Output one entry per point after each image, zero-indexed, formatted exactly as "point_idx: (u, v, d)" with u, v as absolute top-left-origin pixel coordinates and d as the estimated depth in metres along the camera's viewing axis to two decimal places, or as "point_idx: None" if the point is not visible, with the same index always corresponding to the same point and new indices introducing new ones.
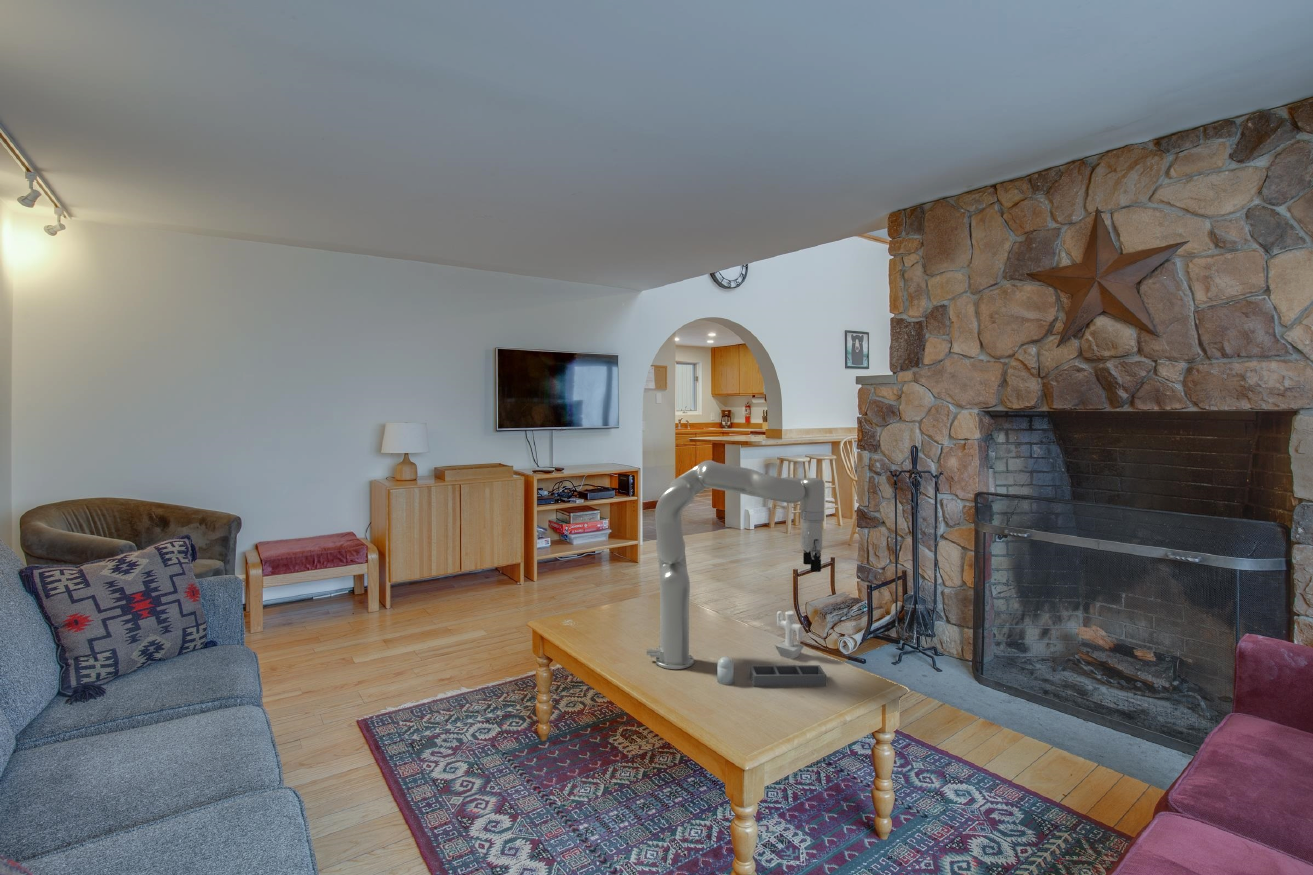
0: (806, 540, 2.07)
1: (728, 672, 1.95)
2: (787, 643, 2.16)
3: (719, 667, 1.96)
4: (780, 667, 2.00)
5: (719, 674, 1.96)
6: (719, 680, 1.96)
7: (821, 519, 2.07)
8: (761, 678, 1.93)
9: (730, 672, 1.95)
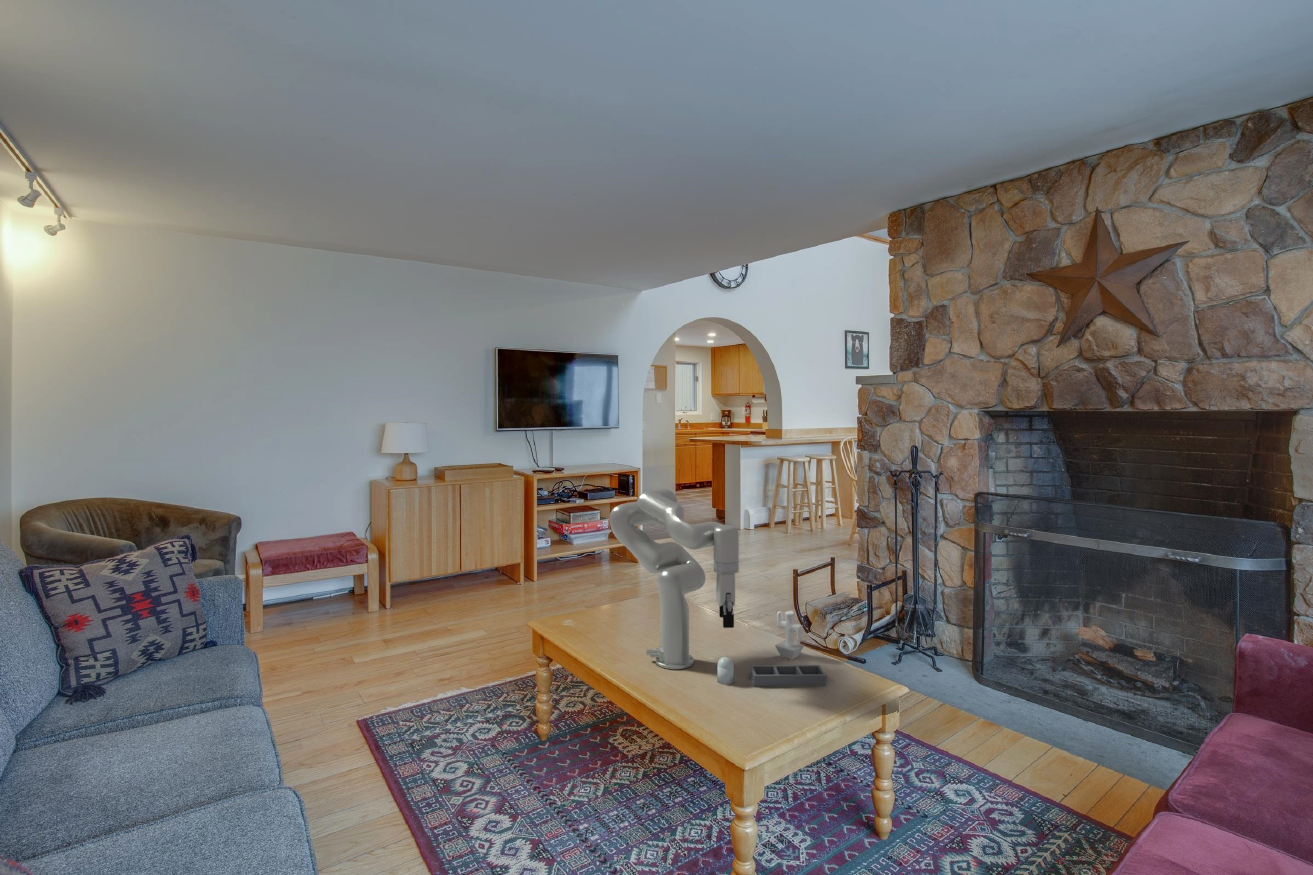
0: (718, 593, 1.92)
1: (728, 672, 1.95)
2: (787, 643, 2.16)
3: (719, 667, 1.96)
4: (780, 667, 2.00)
5: (719, 674, 1.96)
6: (719, 680, 1.96)
7: (734, 570, 1.93)
8: (761, 678, 1.93)
9: (730, 672, 1.95)
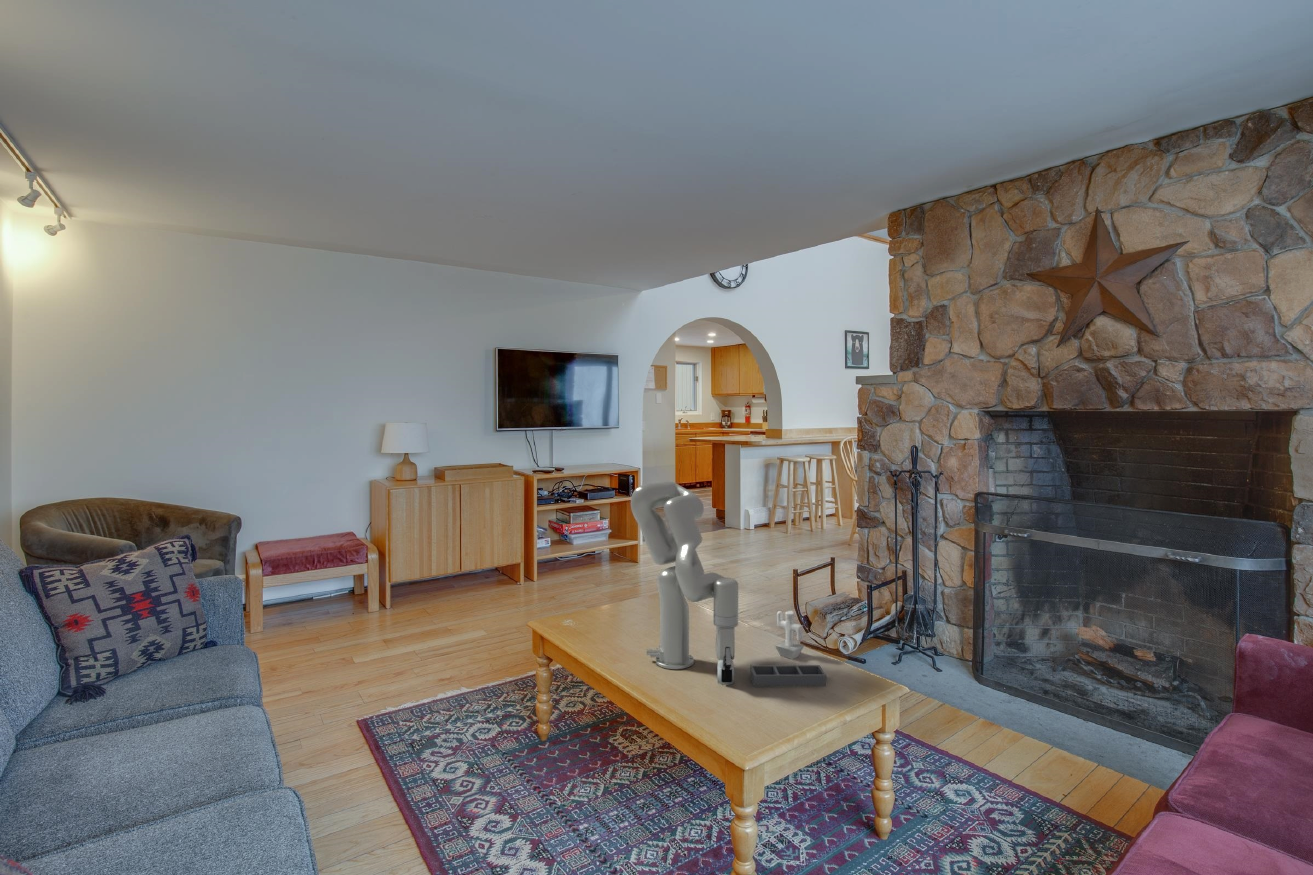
0: (718, 647, 1.93)
1: None
2: (787, 643, 2.16)
3: (719, 667, 1.96)
4: (780, 667, 2.00)
5: (719, 674, 1.96)
6: (719, 680, 1.96)
7: (734, 624, 1.93)
8: (761, 678, 1.93)
9: None
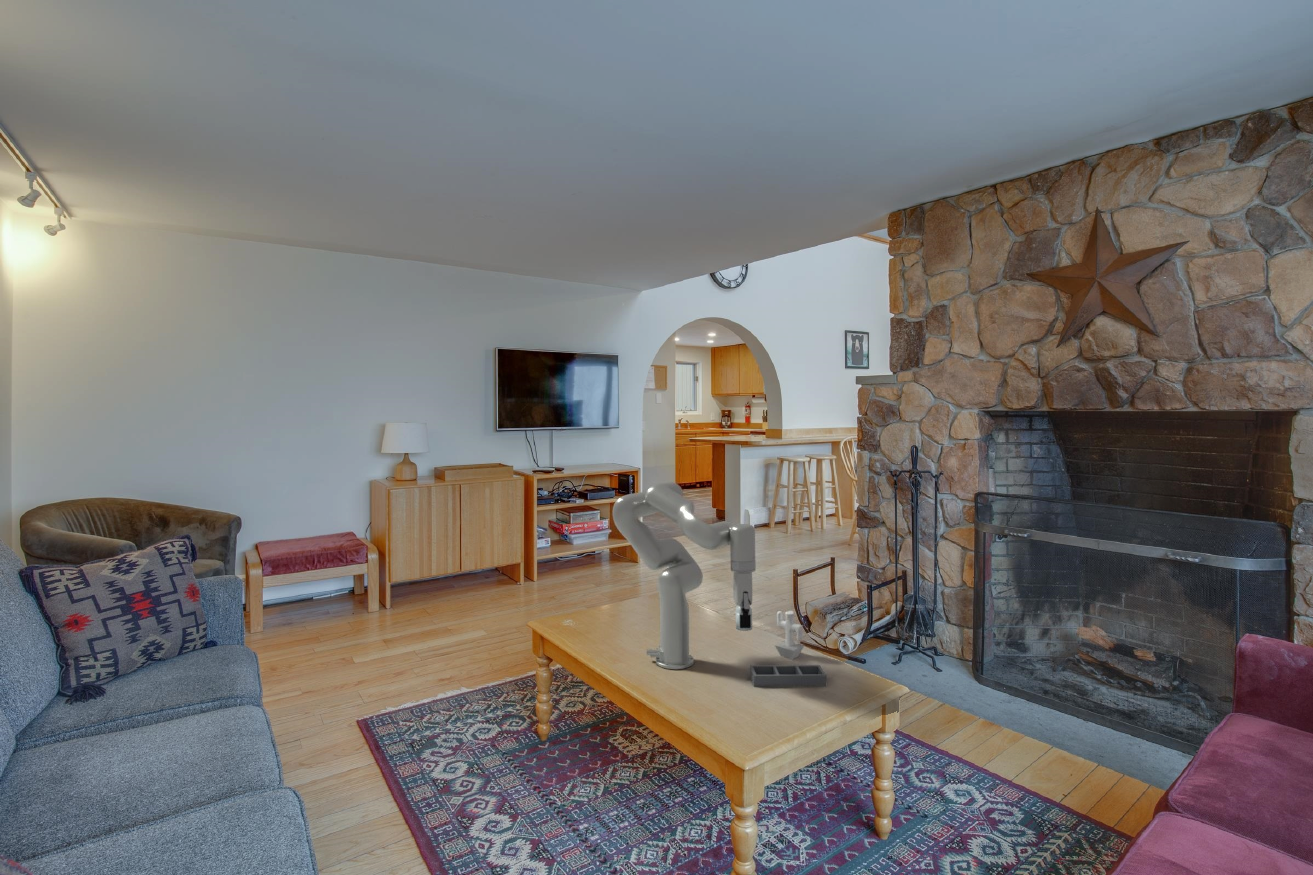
0: (735, 592, 1.92)
1: None
2: (787, 643, 2.16)
3: (737, 613, 1.95)
4: (780, 667, 2.00)
5: (737, 621, 1.95)
6: (737, 626, 1.95)
7: (751, 569, 1.93)
8: (761, 678, 1.93)
9: None
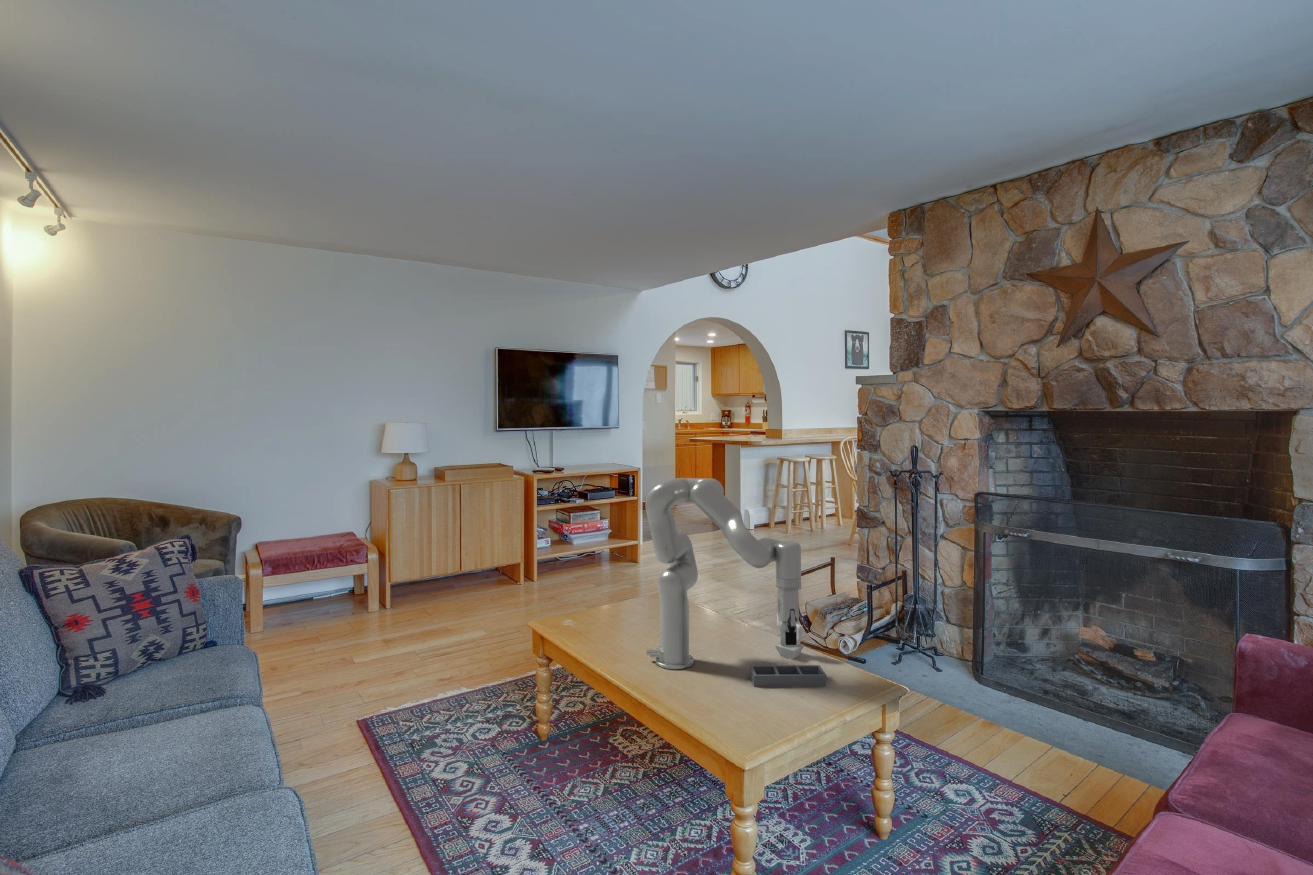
0: (782, 609, 1.93)
1: None
2: None
3: (783, 630, 1.95)
4: (780, 667, 2.00)
5: (783, 637, 1.95)
6: (783, 643, 1.95)
7: (797, 586, 1.93)
8: (761, 678, 1.93)
9: None
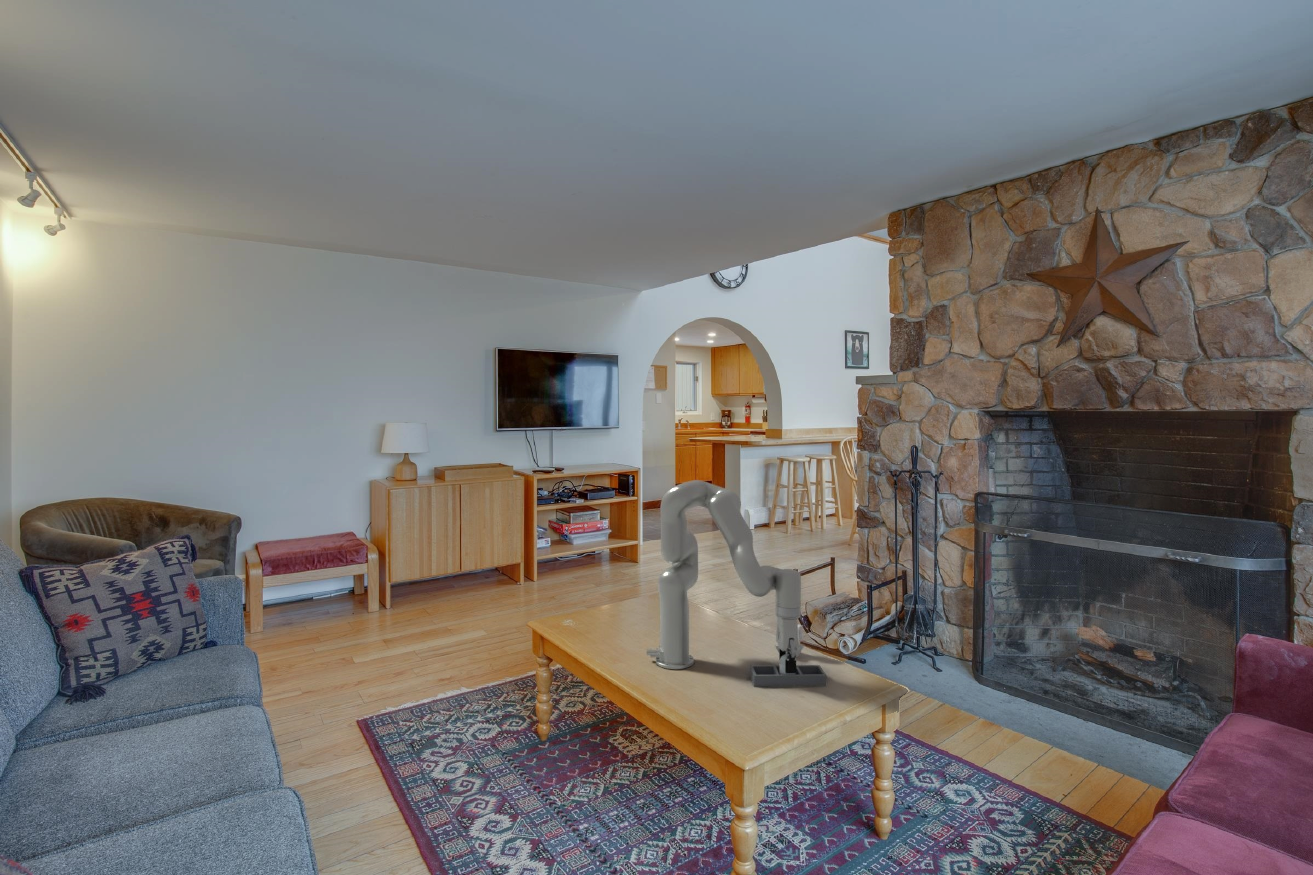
0: (781, 638, 1.93)
1: None
2: None
3: (782, 664, 1.96)
4: None
5: (781, 672, 1.96)
6: None
7: (797, 615, 1.94)
8: (761, 678, 1.93)
9: None
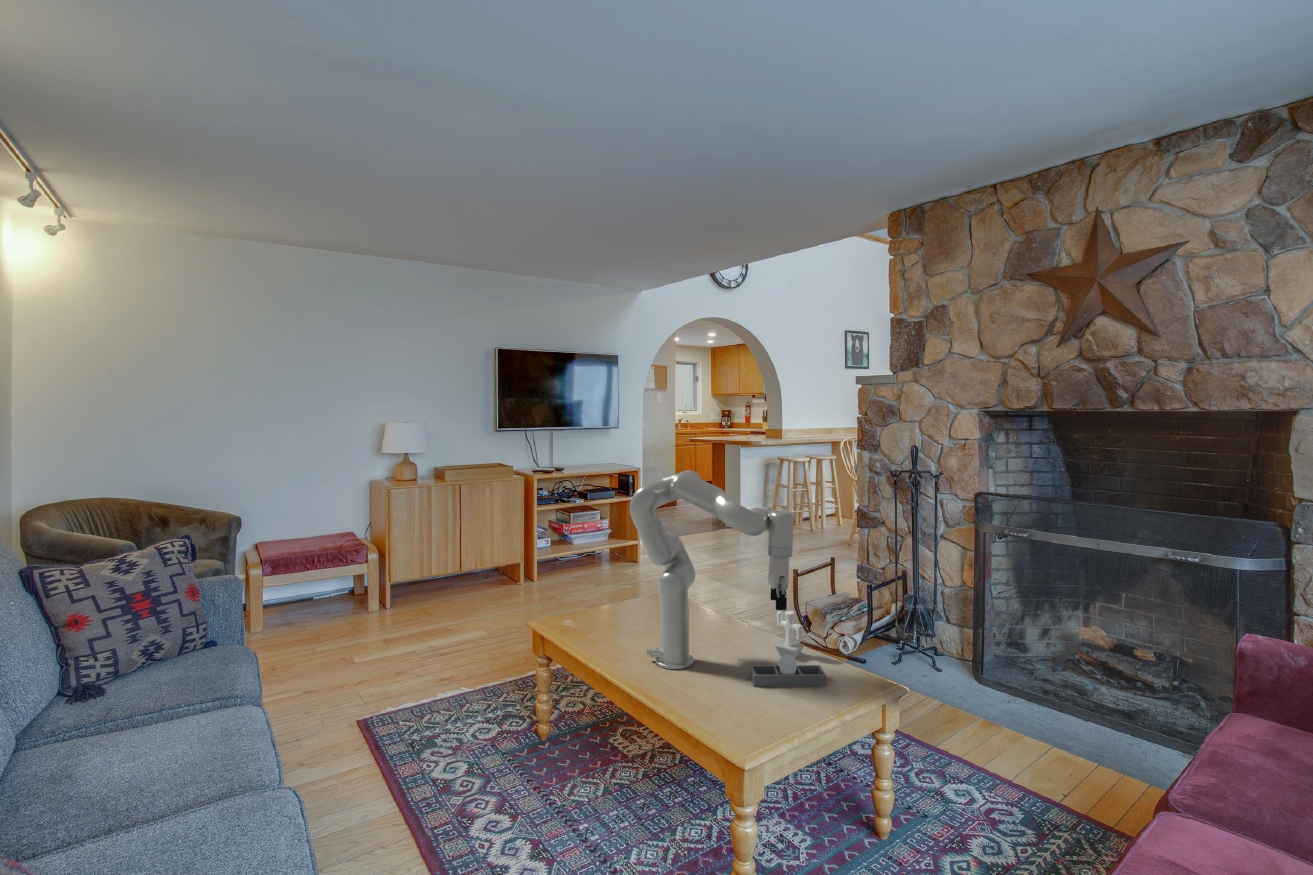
0: (772, 576, 1.97)
1: (791, 669, 1.95)
2: (787, 643, 2.16)
3: (782, 664, 1.95)
4: None
5: (782, 672, 1.96)
6: None
7: (788, 555, 1.97)
8: (761, 678, 1.93)
9: (793, 669, 1.95)
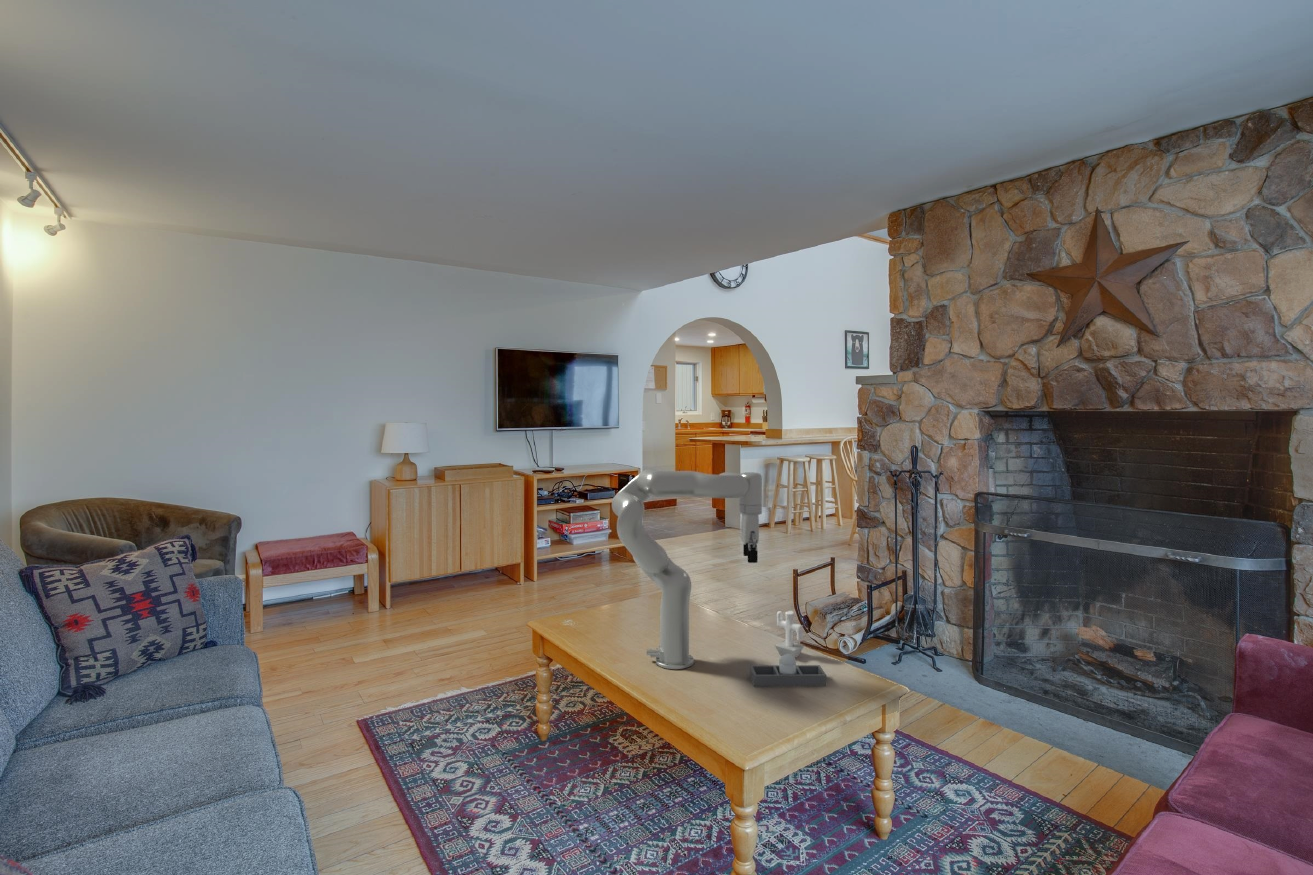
0: (743, 532, 2.15)
1: (791, 669, 1.95)
2: (787, 643, 2.16)
3: (781, 664, 1.96)
4: None
5: (781, 672, 1.96)
6: None
7: (758, 512, 2.15)
8: (761, 678, 1.93)
9: (793, 669, 1.95)
